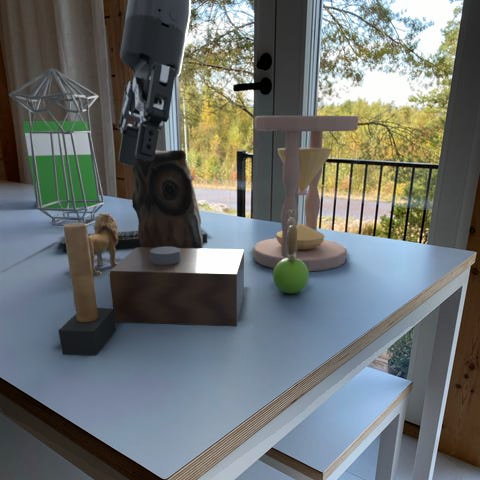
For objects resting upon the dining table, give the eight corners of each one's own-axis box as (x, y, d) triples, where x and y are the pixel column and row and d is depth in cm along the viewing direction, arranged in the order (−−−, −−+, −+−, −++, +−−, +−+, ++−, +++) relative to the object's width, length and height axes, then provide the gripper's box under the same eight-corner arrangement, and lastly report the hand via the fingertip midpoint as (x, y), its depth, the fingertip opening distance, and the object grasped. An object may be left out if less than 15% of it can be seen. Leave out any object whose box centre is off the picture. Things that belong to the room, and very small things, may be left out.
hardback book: (96, 202, 152) (87, 121, 143) (98, 205, 146) (89, 121, 136) (37, 205, 146) (24, 121, 137) (37, 209, 140) (22, 121, 131)
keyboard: (197, 231, 112) (197, 223, 111) (207, 242, 102) (207, 233, 101) (64, 240, 104) (63, 231, 103) (62, 252, 94) (61, 242, 94)
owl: (203, 274, 81) (199, 150, 73) (128, 275, 81) (117, 150, 73) (205, 255, 93) (201, 146, 85) (140, 255, 92) (131, 146, 84)
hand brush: (62, 354, 53) (41, 231, 48) (85, 329, 60) (70, 218, 54) (96, 355, 53) (80, 232, 48) (116, 330, 60) (104, 218, 54)
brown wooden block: (107, 321, 62) (101, 270, 59) (133, 291, 73) (129, 246, 70) (236, 326, 61) (236, 273, 58) (243, 294, 72) (243, 249, 69)
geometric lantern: (88, 231, 112) (66, 64, 98) (27, 229, 114) (-2, 65, 101) (115, 219, 126) (100, 71, 112) (61, 217, 129) (40, 72, 115)
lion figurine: (100, 258, 90) (94, 210, 87) (127, 259, 90) (122, 211, 86) (62, 282, 77) (54, 227, 74) (93, 284, 76) (86, 228, 73)
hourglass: (317, 278, 79) (327, 115, 69) (234, 261, 89) (233, 116, 79) (361, 256, 92) (375, 116, 82) (284, 243, 102) (289, 116, 92)
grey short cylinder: (147, 264, 62) (146, 253, 61) (154, 256, 65) (153, 246, 65) (177, 265, 61) (176, 254, 61) (183, 257, 65) (182, 246, 64)
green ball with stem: (305, 284, 76) (309, 209, 71) (309, 298, 70) (314, 217, 65) (271, 284, 76) (273, 209, 71) (272, 298, 70) (275, 217, 66)
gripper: (112, 33, 62) (94, 158, 65) (143, -8, 50) (118, 149, 53) (166, 55, 66) (146, 172, 68) (207, 22, 54) (181, 166, 56)
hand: (134, 162), depth 60 cm, fingers open, 8 cm apart
